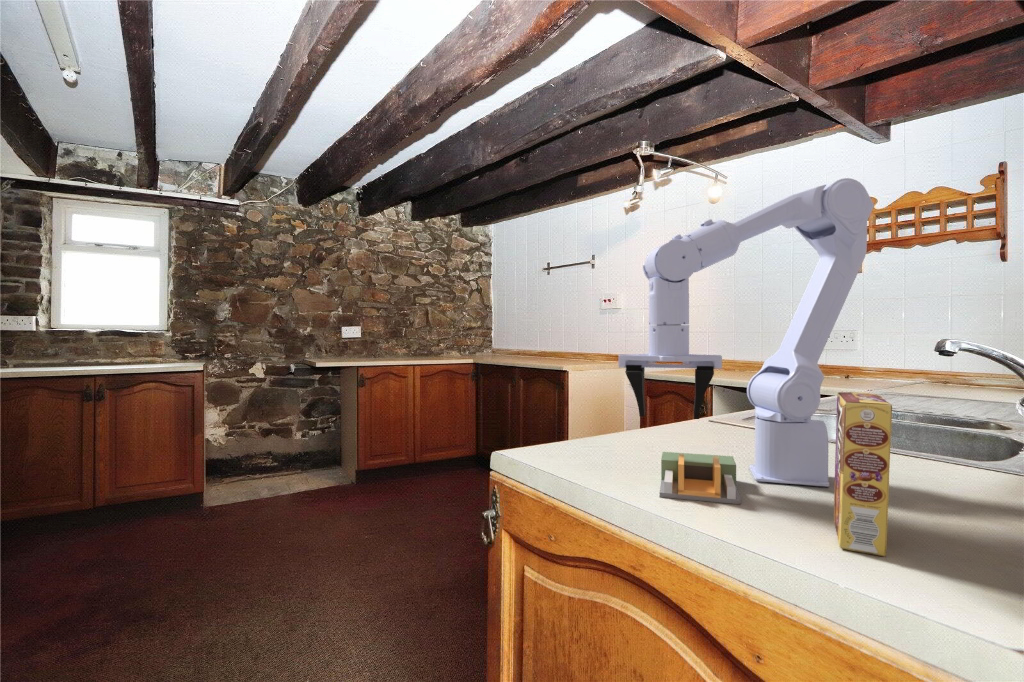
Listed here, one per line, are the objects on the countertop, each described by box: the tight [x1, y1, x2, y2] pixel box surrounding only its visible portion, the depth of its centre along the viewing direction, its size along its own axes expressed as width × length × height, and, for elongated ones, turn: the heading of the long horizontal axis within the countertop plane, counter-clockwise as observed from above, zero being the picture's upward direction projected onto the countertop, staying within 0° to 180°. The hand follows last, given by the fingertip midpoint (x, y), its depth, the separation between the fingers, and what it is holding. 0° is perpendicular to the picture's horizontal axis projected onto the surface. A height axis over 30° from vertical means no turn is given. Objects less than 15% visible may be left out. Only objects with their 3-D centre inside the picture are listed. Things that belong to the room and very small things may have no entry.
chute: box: [678, 454, 721, 498], centre depth 70 cm, size 5×6×4 cm
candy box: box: [833, 391, 893, 557], centre depth 55 cm, size 9×4×15 cm, turn 152°
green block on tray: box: [659, 451, 742, 505], centre depth 73 cm, size 10×11×4 cm
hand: (668, 416), depth 76 cm, fingers open, 7 cm apart
